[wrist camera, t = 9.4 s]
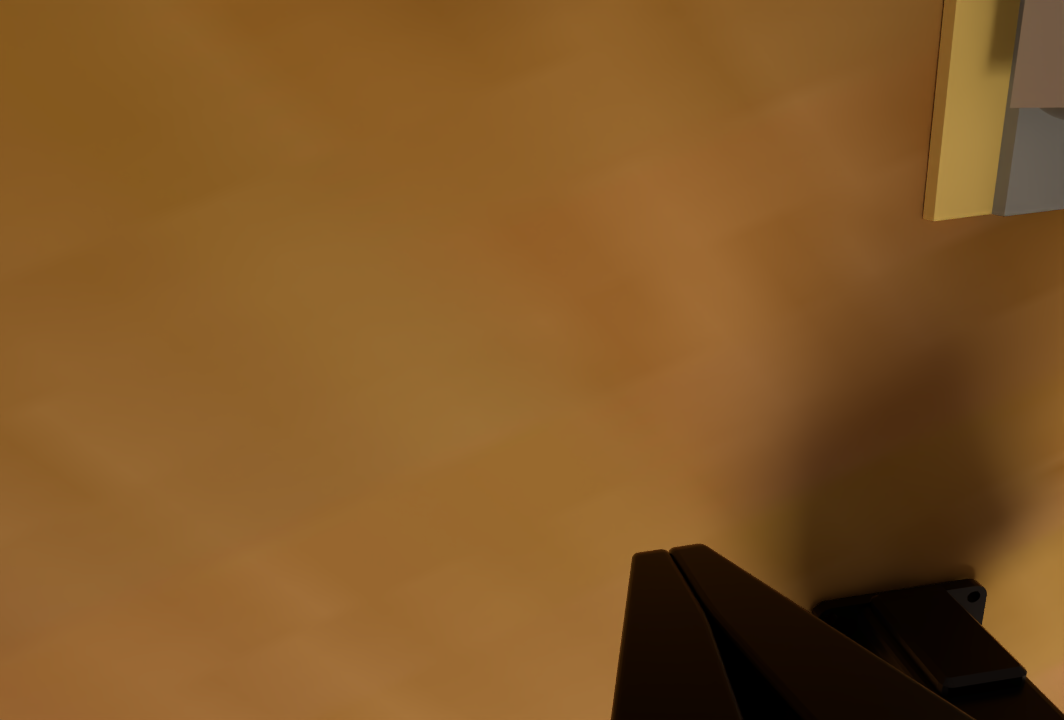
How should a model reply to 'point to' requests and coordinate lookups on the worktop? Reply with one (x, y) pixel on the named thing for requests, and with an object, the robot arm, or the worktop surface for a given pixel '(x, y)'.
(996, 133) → the dock
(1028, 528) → the worktop surface
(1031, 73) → the trolley
